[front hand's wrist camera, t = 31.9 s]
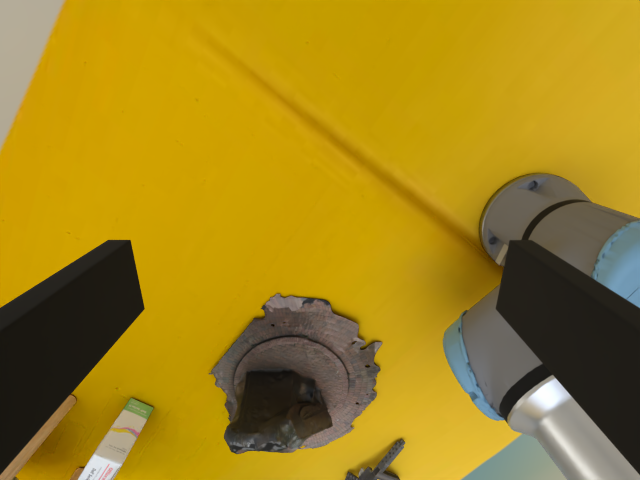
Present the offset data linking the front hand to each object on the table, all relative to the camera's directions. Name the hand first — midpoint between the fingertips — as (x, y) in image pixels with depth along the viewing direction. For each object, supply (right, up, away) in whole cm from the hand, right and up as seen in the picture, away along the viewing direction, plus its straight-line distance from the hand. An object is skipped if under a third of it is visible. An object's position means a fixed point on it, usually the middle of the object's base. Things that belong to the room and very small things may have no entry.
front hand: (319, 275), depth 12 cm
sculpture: (-4, -25, +53) cm, 59 cm away
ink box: (-36, -33, +56) cm, 74 cm away
